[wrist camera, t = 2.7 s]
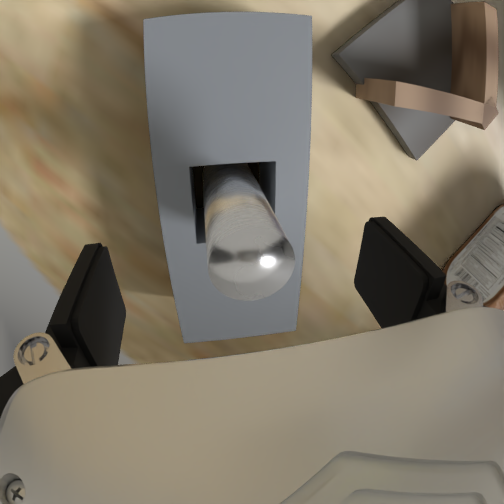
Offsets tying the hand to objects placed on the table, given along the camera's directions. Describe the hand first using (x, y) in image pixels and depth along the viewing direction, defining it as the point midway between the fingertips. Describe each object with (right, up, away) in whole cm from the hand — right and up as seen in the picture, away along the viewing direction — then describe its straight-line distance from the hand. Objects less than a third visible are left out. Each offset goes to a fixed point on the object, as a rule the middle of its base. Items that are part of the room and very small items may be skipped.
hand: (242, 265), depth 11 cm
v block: (+13, +15, +7) cm, 21 cm away
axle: (-1, +6, +10) cm, 11 cm away
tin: (+24, +2, +17) cm, 30 cm away
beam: (-1, +6, +10) cm, 11 cm away
